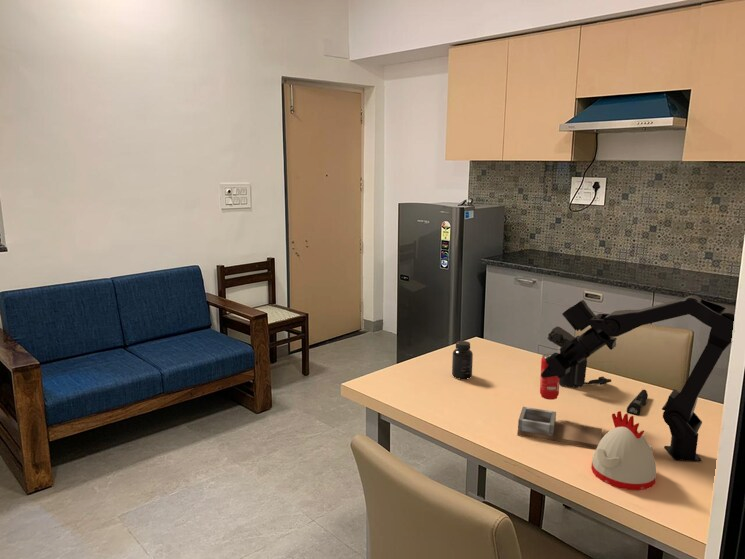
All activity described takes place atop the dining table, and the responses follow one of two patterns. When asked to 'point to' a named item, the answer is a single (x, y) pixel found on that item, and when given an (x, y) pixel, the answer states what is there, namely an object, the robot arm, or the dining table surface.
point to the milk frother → (579, 376)
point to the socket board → (556, 429)
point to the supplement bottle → (462, 360)
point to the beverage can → (548, 382)
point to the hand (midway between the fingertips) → (545, 373)
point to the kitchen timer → (624, 457)
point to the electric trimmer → (637, 403)
